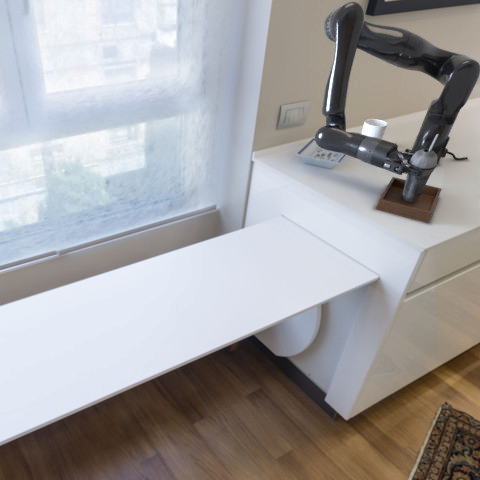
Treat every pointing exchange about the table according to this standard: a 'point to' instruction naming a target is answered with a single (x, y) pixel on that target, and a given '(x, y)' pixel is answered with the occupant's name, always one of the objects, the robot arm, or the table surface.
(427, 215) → the tray
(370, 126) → the white cup
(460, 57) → the robot arm
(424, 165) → the beverage cup
